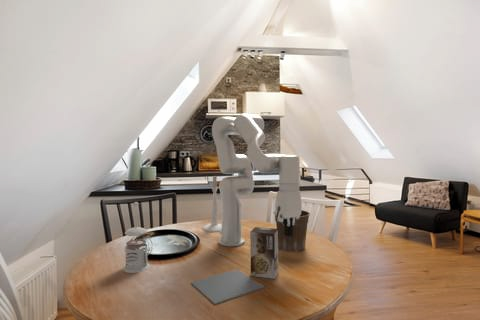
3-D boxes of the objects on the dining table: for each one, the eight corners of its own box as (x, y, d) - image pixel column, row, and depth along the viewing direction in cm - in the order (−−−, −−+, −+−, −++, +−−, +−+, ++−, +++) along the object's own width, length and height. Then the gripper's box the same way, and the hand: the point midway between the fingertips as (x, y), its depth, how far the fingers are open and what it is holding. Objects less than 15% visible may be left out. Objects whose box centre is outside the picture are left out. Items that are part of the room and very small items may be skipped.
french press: (135, 260, 118) (134, 199, 116) (159, 265, 113) (158, 201, 112) (116, 270, 108) (115, 203, 107) (142, 275, 104) (141, 205, 103)
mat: (191, 283, 98) (191, 282, 98) (237, 270, 109) (237, 269, 109) (214, 304, 85) (214, 303, 85) (264, 287, 95) (264, 286, 95)
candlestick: (225, 232, 158) (225, 176, 156) (202, 232, 157) (201, 176, 156) (226, 225, 170) (226, 174, 169) (204, 225, 170) (204, 174, 169)
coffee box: (278, 272, 107) (279, 228, 106) (274, 279, 101) (275, 233, 100) (254, 268, 110) (254, 226, 109) (249, 275, 104) (249, 231, 103)
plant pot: (279, 239, 145) (280, 207, 144) (312, 244, 138) (313, 210, 137) (268, 250, 130) (268, 214, 129) (304, 256, 123) (305, 218, 122)
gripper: (296, 185, 118) (295, 230, 119) (267, 187, 110) (267, 236, 111) (310, 187, 112) (309, 234, 113) (281, 190, 104) (280, 241, 104)
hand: (288, 235), depth 112 cm, fingers closed
